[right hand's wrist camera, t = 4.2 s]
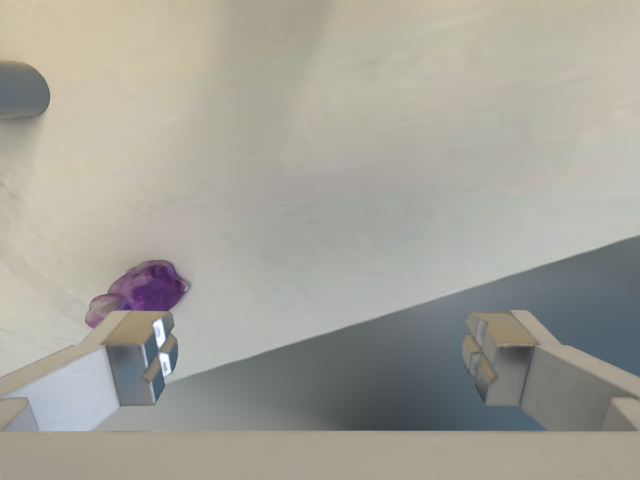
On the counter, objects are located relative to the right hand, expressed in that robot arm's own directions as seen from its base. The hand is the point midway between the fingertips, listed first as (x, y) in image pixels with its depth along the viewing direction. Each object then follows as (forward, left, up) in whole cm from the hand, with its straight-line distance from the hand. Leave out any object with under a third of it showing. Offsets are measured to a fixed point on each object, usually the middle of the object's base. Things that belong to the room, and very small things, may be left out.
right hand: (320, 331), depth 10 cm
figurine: (+23, -28, -48) cm, 60 cm away
